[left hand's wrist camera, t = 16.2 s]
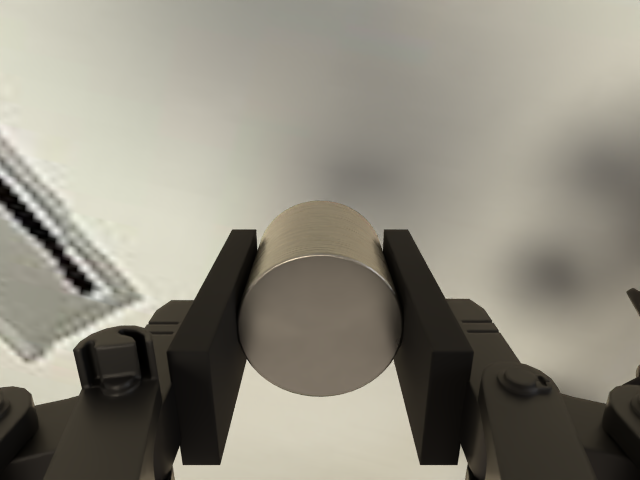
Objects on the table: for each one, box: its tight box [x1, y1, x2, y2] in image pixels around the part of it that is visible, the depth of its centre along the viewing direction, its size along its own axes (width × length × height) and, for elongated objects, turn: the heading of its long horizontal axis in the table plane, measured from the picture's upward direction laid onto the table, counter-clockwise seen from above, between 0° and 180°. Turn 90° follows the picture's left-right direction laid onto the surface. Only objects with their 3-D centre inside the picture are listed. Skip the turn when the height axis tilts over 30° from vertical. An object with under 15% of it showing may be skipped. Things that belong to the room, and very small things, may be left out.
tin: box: [237, 201, 404, 397], centre depth 13 cm, size 4×4×4 cm
